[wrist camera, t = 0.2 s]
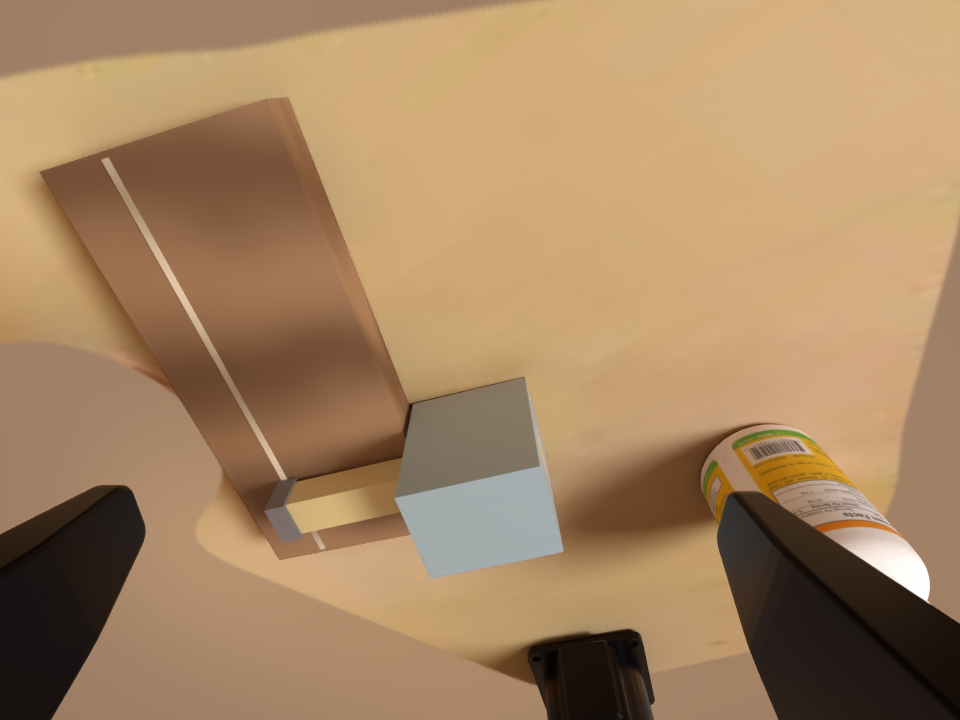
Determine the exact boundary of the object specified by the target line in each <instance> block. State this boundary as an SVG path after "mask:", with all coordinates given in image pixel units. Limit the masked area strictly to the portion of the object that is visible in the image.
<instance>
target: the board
mask: <svg viewBox="0 0 960 720" xmlns="http://www.w3.org/2000/svg"><path fill="white" fill-rule="evenodd" d="M40 174H41V175H42V177H43V179H44V180H45V182H46V183H47V185H48V187H49V188H50V190H51V192H52V193H53V195H54V196H55V198H56V200H57V201H58V203H59V204H60V206H61V208H62V209H63V211H64V213H65V214H66V216H67V217H68V219H69V221H70V222H71V224H72V226H73V227H74V229H75V230H76V232H77V234H78V235H79V237H80V238H81V240H82V242H83V243H84V245H85V247H86V248H87V250H88V251H89V253H90V255H91V256H92V258H93V259H94V261H95V263H96V264H97V266H98V268H99V269H100V271H101V272H102V274H103V276H104V277H105V279H106V280H107V282H108V284H109V285H110V287H111V289H112V290H113V292H114V293H115V295H116V297H117V298H118V300H119V301H120V303H121V305H122V306H123V308H124V310H125V311H126V313H127V314H128V316H129V318H130V319H131V321H132V323H133V324H134V326H135V327H136V329H137V331H138V332H139V334H140V335H141V337H142V339H143V340H144V342H145V344H146V345H147V347H148V348H149V350H150V352H151V353H152V355H153V356H154V358H155V360H156V361H157V363H158V365H159V366H160V368H161V369H162V371H163V373H164V374H165V376H166V377H167V379H168V381H169V382H170V384H171V386H172V387H173V389H174V390H175V392H176V394H177V395H178V397H179V398H180V400H181V402H182V403H183V405H184V406H185V408H186V410H187V411H188V413H189V415H190V416H191V418H192V419H193V421H194V423H195V424H196V426H197V427H198V429H199V431H200V432H201V434H202V435H203V437H204V439H205V440H206V442H207V444H208V445H209V447H210V448H211V450H212V452H213V453H214V455H215V457H216V458H217V460H218V462H219V463H220V465H221V466H222V468H223V470H224V471H225V473H226V474H227V476H228V478H229V479H230V481H231V483H232V484H233V486H234V487H235V489H236V491H237V492H238V494H239V495H240V497H241V499H242V500H243V502H244V504H245V505H246V507H247V508H248V510H249V512H250V513H251V515H252V517H253V518H254V520H255V521H256V523H257V525H258V526H259V528H260V529H261V531H262V533H263V534H264V536H265V538H266V539H267V541H268V542H269V544H270V546H271V547H272V549H273V550H274V552H275V554H276V555H277V557H278V559H279V560H283V559H288V558H293V557H298V556H303V555H308V554H313V553H318V552H324V551H329V550H334V549H339V548H344V547H349V546H354V545H359V544H365V543H370V542H375V541H380V540H385V539H390V538H395V537H400V536H405V535H411V534H410V532H409V529H408V527H407V525H406V523H405V521H404V518H403V516H402V514H401V512H400V513H395V514H390V515H386V516H381V517H376V518H372V519H367V520H363V521H358V522H353V523H349V524H344V525H340V526H335V527H330V528H326V529H321V530H317V531H312V532H307V533H303V536H302V538H301V539H299V540H295V541H290V542H286V543H283V542H282V540H281V538H280V537H279V535H278V533H277V532H276V530H275V528H274V527H273V525H272V523H271V522H270V520H269V518H268V517H267V515H266V513H265V512H264V510H265V508H266V506H267V504H268V502H269V500H270V498H271V496H272V494H273V492H274V490H275V488H276V486H277V484H278V482H279V481H282V480H286V479H291V478H295V477H296V478H297V480H298V481H303V480H307V479H311V478H316V477H320V476H324V475H329V474H333V473H337V472H342V471H346V470H351V469H355V468H359V467H364V466H368V465H372V464H377V463H381V462H385V461H390V460H394V459H399V458H403V453H404V447H405V442H406V437H407V432H408V427H409V422H410V417H411V409H410V406H409V404H408V401H407V399H406V396H405V394H404V391H403V389H402V386H401V384H400V381H399V378H398V376H397V373H396V371H395V368H394V366H393V363H392V361H391V358H390V356H389V353H388V350H387V348H386V345H385V343H384V340H383V338H382V335H381V333H380V330H379V328H378V325H377V322H376V320H375V317H374V315H373V312H372V310H371V307H370V305H369V302H368V300H367V297H366V294H365V292H364V289H363V287H362V284H361V282H360V279H359V277H358V274H357V272H356V269H355V266H354V264H353V261H352V259H351V256H350V254H349V251H348V249H347V246H346V243H345V241H344V238H343V236H342V233H341V231H340V228H339V226H338V223H337V221H336V218H335V215H334V213H333V210H332V208H331V205H330V203H329V200H328V198H327V195H326V193H325V190H324V187H323V185H322V182H321V180H320V177H319V175H318V172H317V170H316V167H315V165H314V162H313V159H312V157H311V154H310V152H309V149H308V147H307V144H306V142H305V139H304V137H303V134H302V131H301V129H300V126H299V124H298V121H297V119H296V116H295V114H294V111H293V109H292V106H291V103H290V101H289V98H288V97H287V98H274V99H265V100H262V101H259V102H256V103H253V104H249V105H246V106H243V107H240V108H237V109H234V110H231V111H228V112H225V113H221V114H218V115H215V116H212V117H209V118H206V119H203V120H200V121H197V122H193V123H190V124H187V125H184V126H181V127H178V128H175V129H172V130H169V131H165V132H162V133H159V134H156V135H153V136H150V137H147V138H144V139H141V140H137V141H134V142H131V143H128V144H125V145H122V146H119V147H116V148H113V149H109V150H106V151H103V152H100V153H97V154H94V155H91V156H88V157H85V158H81V159H78V160H75V161H72V162H69V163H66V164H63V165H60V166H57V167H53V168H50V169H47V170H44V171H41V172H40Z"/></svg>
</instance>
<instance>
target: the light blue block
mask: <svg viewBox="0 0 960 720" xmlns="http://www.w3.org/2000/svg"><path fill="white" fill-rule="evenodd" d="M264 512H265V513H266V515H267V517H268V518H269V520H270V522H271V523H272V525H273V527H274V528H275V530H276V532H277V533H278V535H279V537H280V538H281V540H282V542H283V543H286V542H290V541H295V540H299V539H301V538H302V536H303V533H307V532H312V531H317V530H321V529H326V528H330V527H335V526H340V525H344V524H349V523H353V522H358V521H363V520H367V519H372V518H376V517H381V516H386V515H390V514H395V513H400V512H401V514H402V516H403V518H404V521H405V523H406V525H407V527H408V529H409V532H410V534H411V536H412V538H413V541H414V543H415V545H416V547H417V549H418V552H419V554H420V556H421V558H422V561H423V563H424V565H425V567H426V570H427V572H428V574H429V576H430V578H431V579H433V578H438V577H443V576H448V575H453V574H458V573H463V572H468V571H473V570H478V569H483V568H488V567H493V566H498V565H503V564H508V563H513V562H518V561H523V560H528V559H533V558H538V557H542V556H547V555H552V554H557V553H562V552H564V550H563V545H562V540H561V535H560V529H559V524H558V519H557V514H556V508H555V503H554V498H553V492H552V487H551V482H550V477H549V471H548V466H547V461H546V456H545V450H544V447H543V443H542V439H541V436H540V432H539V428H538V424H537V421H536V417H535V413H534V409H533V406H532V402H531V398H530V395H529V391H528V387H527V383H526V380H525V377H523V378H519V379H515V380H511V381H506V382H502V383H498V384H494V385H490V386H486V387H482V388H477V389H473V390H469V391H465V392H461V393H457V394H452V395H448V396H444V397H440V398H436V399H432V400H427V401H423V402H419V403H415V404H413V407H412V412H411V417H410V422H409V427H408V432H407V437H406V442H405V447H404V453H403V458H399V459H394V460H390V461H385V462H381V463H377V464H372V465H368V466H364V467H359V468H355V469H351V470H346V471H342V472H337V473H333V474H329V475H324V476H320V477H316V478H311V479H307V480H303V481H298V480H297V478H296V477H295V478H291V479H286V480H282V481H279V482H278V484H277V486H276V488H275V490H274V492H273V494H272V496H271V498H270V500H269V502H268V504H267V506H266V508H265V510H264Z"/></svg>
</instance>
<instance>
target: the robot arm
mask: <svg viewBox="0 0 960 720" xmlns="http://www.w3.org/2000/svg"><path fill="white" fill-rule="evenodd" d="M145 531H146V530H145V524H144V521H143V519H142V516H141V513H140V511H139V508H138V505H137V502H136V500H135V497H134V494H133V492H132V490H131V489H130V488H128V487H127V486H123V485H100V486H96V487H93V488H91V489H89V490H87V491H85V492H83V493H81V494H80V495H77V496H75V497H74V498H71V499H69V500H67V501H65V502H63V503H61V504H59V505H58V506H55V507H53V508H51V509H50V510H48V511H45V512H43V513H41V514H39V515H38V516H35V517H34V518H32V519H30V520H28V521H26V522H24V523H22V524H20V525H18V526H16V527H14V528H12V529H10V530H8V531H6V532H4V533H2V534H0V720H51V719H52V717H53V716H54V714H55V712H56V711H57V709H58V707H59V706H60V704H61V702H62V700H63V699H64V697H65V695H66V693H67V692H68V690H69V688H70V687H71V685H72V683H73V682H74V680H75V678H76V676H77V674H78V673H79V671H80V670H81V668H82V666H83V664H84V663H85V661H86V659H87V658H88V656H89V654H90V652H91V650H92V649H93V647H94V645H95V643H96V641H97V640H98V638H99V635H100V634H101V632H102V630H103V628H104V626H105V624H106V622H107V619H108V617H109V615H110V613H111V611H112V609H113V607H114V604H115V602H116V600H117V598H118V596H119V594H120V592H121V589H122V587H123V585H124V583H125V581H126V579H127V576H128V574H129V572H130V570H131V568H132V566H133V564H134V562H135V559H136V557H137V555H138V553H139V551H140V548H141V547H142V544H143V542H144V538H145ZM717 543H718V548H719V552H720V555H721V558H722V562H723V565H724V568H725V572H726V575H727V578H728V582H729V585H730V588H731V592H732V595H733V598H734V602H735V605H736V608H737V611H738V615H739V618H740V621H741V625H742V628H743V631H744V634H745V637H746V640H747V644H748V647H749V649H750V652H751V654H752V657H753V660H754V662H755V665H756V667H757V670H758V672H759V674H760V677H761V679H762V682H763V684H764V686H765V689H766V691H767V693H768V696H769V698H770V701H771V703H772V705H773V708H774V710H775V712H776V715H777V717H778V720H960V624H959V623H958V622H956V621H955V620H953V619H952V618H950V617H949V616H947V615H946V614H944V613H943V612H941V611H940V610H938V609H937V608H935V607H934V606H932V605H931V604H929V603H928V602H926V601H925V600H923V599H922V598H920V597H919V596H917V595H916V594H914V593H913V592H911V591H910V590H908V589H907V588H905V587H904V586H902V585H901V584H899V583H898V582H896V581H894V580H893V579H891V578H890V577H888V576H887V575H885V574H884V573H882V572H881V571H879V570H878V569H876V568H875V567H873V566H872V565H870V564H869V563H867V562H866V561H864V560H863V559H861V558H860V557H858V556H857V555H855V554H854V553H852V552H851V551H849V550H848V549H846V548H845V547H843V546H842V545H840V544H839V543H837V542H836V541H834V540H832V539H831V538H829V537H828V536H826V535H825V534H823V533H822V532H820V531H819V530H817V529H816V528H814V527H813V526H811V525H810V524H808V523H807V522H805V521H804V520H802V519H801V518H799V517H798V516H796V515H795V514H793V513H792V512H790V511H789V510H787V509H786V508H784V507H783V506H781V505H780V504H778V503H777V502H775V501H773V500H772V499H770V498H769V497H767V496H766V495H764V494H763V493H761V492H758V491H732V492H730V493H729V494H728V496H727V498H726V501H725V505H724V509H723V513H722V516H721V520H720V524H719V528H718V533H717ZM528 661H529V664H530V667H531V669H532V672H533V675H534V677H535V680H536V683H537V686H538V688H539V691H540V694H541V696H542V699H543V702H544V705H545V707H546V710H547V718H548V720H654V718H653V714H652V710H651V706H650V705H651V704H653V703H654V701H655V699H654V695H653V689H652V685H651V681H650V675H649V670H648V665H647V661H646V656H645V651H644V646H643V642H642V638H641V635H640V634H639V633H638V632H626V633H619V634H613V635H607V636H601V637H595V638H588V639H582V640H576V641H570V642H563V643H557V644H551V645H545V646H539V647H533V648H531V649H529V650H528Z"/></svg>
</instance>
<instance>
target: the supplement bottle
mask: <svg viewBox="0 0 960 720" xmlns="http://www.w3.org/2000/svg"><path fill="white" fill-rule="evenodd" d="M700 481H701V489H702V492H703V495H704V497H705V499H706V502H707V504H708V506H709V507H710V509H711V511H712V513H713V515H714V517H715V519H716V521H717V522H718V524H720V520H721V516H722V513H723V509H724V505H725V501H726V498H727V496H728V494H729V493H730V492H732V491H758V492H761V493H763V494H764V495H766V496H767V497H769V498H770V499H772V500H773V501H775V502H777V503H778V504H780V505H781V506H783V507H784V508H786V509H787V510H789V511H790V512H792V513H793V514H795V515H796V516H798V517H799V518H801V519H802V520H804V521H805V522H807V523H808V524H810V525H811V526H813V527H814V528H816V529H817V530H819V531H820V532H822V533H823V534H825V535H826V536H828V537H829V538H831V539H832V540H834V541H836V542H837V543H839V544H840V545H842V546H843V547H845V548H846V549H848V550H849V551H851V552H852V553H854V554H855V555H857V556H858V557H860V558H861V559H863V560H864V561H866V562H867V563H869V564H870V565H872V566H873V567H875V568H876V569H878V570H879V571H881V572H882V573H884V574H885V575H887V576H888V577H890V578H891V579H893V580H894V581H896V582H898V583H899V584H901V585H902V586H904V587H905V588H907V589H908V590H910V591H911V592H913V593H914V594H916V595H917V596H919V597H920V598H922V599H923V600H925V601H926V602H928V601H927V599H928V596H929V590H930V581H929V576H928V572H927V569H926V567H925V565H924V563H923V562H922V560H921V559H920V557H919V556H918V555H917V553H916V552H915V551H914V550H913V549H912V547H911V546H910V545H909V544H908V543H907V541H906V540H905V539H904V538H903V537H902V536H901V535H900V534H899V533H898V532H897V531H896V530H895V529H894V528H893V527H892V525H891V524H890V523H889V522H888V521H887V520H886V519H885V518H884V517H883V516H882V515H881V514H880V512H879V511H878V510H877V509H876V508H875V507H874V506H873V505H872V504H871V503H870V502H869V501H868V499H867V498H866V497H865V496H864V495H863V494H862V493H861V492H860V491H859V490H858V489H857V487H856V486H855V485H854V484H853V483H852V482H851V481H850V480H849V479H848V478H847V477H846V475H845V474H844V473H843V472H842V471H841V470H840V469H839V468H838V467H837V465H836V464H835V463H834V462H833V461H832V460H831V459H830V458H829V457H828V456H827V454H826V453H825V452H824V451H823V450H822V449H821V448H820V447H819V446H818V445H817V444H816V443H815V442H814V441H813V440H812V439H811V438H810V437H809V436H808V435H806V434H805V433H804V432H802V431H800V430H798V429H796V428H793V427H789V426H785V425H775V424H766V425H757V426H753V427H749V428H746V429H743V430H741V431H738V432H736V433H734V434H732V435H730V436H729V437H727V438H726V439H724V440H723V441H722V442H721V443H720V444H718V445H717V446H716V447H715V448H714V450H713V451H712V452H711V453H710V455H709V456H708V458H707V459H706V461H705V463H704V466H703V468H702V472H701V480H700ZM928 603H929V602H928ZM929 604H930V603H929Z"/></svg>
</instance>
